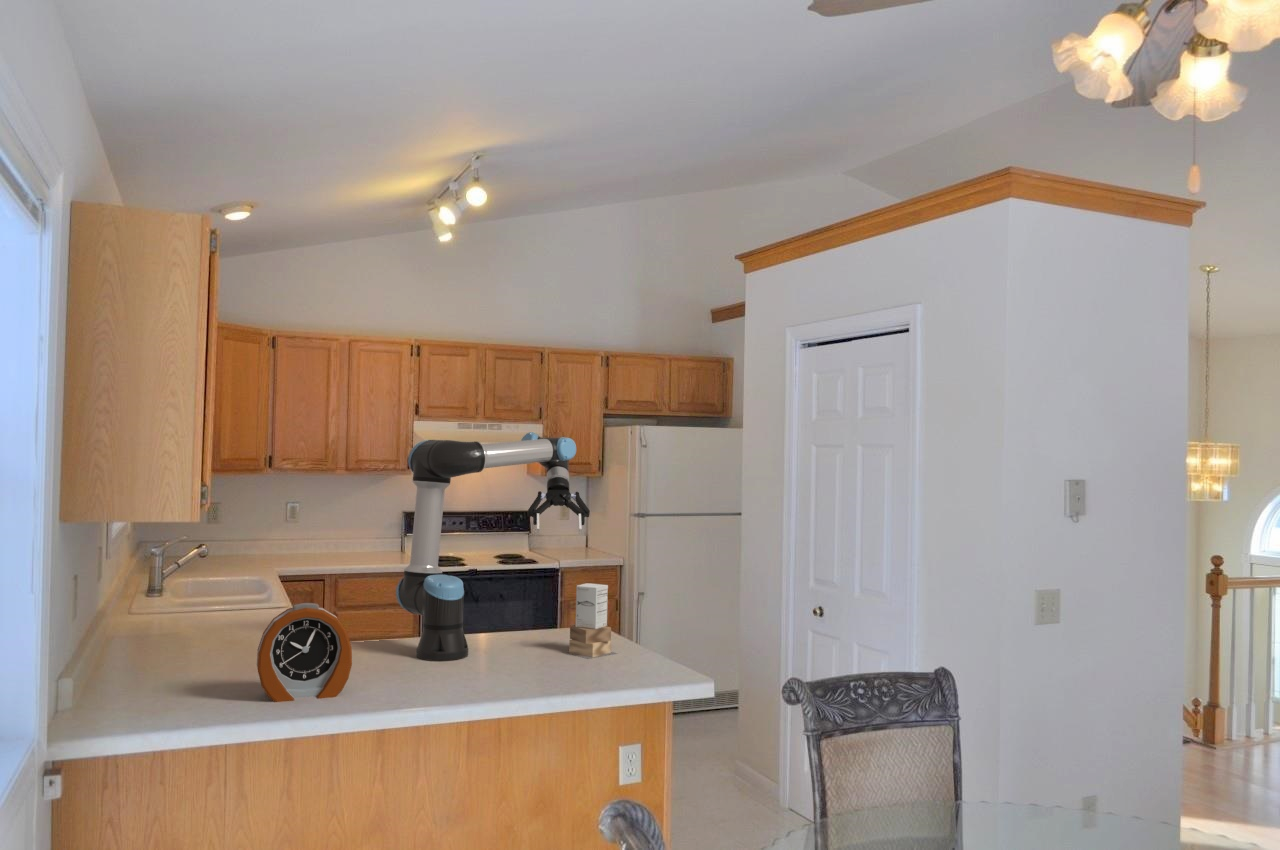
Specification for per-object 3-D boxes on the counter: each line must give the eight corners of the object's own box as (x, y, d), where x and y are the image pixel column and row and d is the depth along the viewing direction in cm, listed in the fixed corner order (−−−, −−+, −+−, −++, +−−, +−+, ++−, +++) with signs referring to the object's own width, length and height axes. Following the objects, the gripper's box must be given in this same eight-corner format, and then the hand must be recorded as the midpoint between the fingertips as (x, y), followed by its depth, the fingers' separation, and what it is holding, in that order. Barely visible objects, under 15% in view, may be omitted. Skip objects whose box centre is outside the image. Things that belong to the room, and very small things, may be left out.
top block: (585, 643, 288) (585, 630, 288) (569, 638, 295) (570, 625, 295) (610, 640, 293) (611, 627, 293) (594, 635, 300) (594, 622, 300)
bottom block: (592, 657, 288) (592, 643, 288) (569, 653, 293) (569, 640, 293) (611, 652, 295) (611, 639, 295) (588, 648, 300) (588, 635, 300)
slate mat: (588, 660, 285) (588, 658, 285) (562, 653, 294) (562, 652, 294) (618, 654, 294) (618, 653, 294) (592, 648, 302) (592, 647, 302)
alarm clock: (257, 703, 232) (259, 609, 233) (255, 694, 241) (258, 603, 242) (352, 695, 241) (354, 604, 242) (347, 686, 250) (349, 598, 251)
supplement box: (574, 627, 293) (575, 585, 293) (587, 623, 299) (587, 582, 300) (595, 629, 289) (596, 587, 290) (607, 625, 296) (608, 584, 296)
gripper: (594, 491, 331) (597, 539, 316) (520, 490, 328) (520, 538, 313) (595, 476, 326) (598, 524, 311) (521, 475, 323) (520, 523, 308)
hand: (559, 531), depth 312 cm, fingers open, 13 cm apart
